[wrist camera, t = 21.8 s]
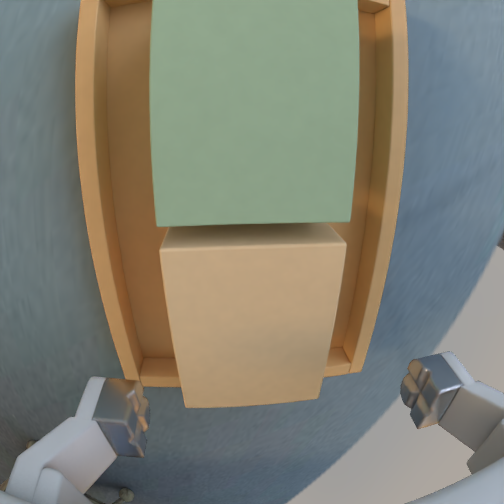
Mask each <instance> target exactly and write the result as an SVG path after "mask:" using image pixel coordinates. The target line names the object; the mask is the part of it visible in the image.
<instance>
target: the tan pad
mask: <svg viewBox="0 0 504 504" xmlns="http://www.w3.org/2000/svg"><path fill="white" fill-rule="evenodd" d="M346 247H347V244H346V242H345V241H344V240H343V239H342V238H341V237H340V236H339V235H338V234H337V233H336V232H335V231H334V229H333V228H332V227H331V226H330V225H329V224H328V223H274V224H234V225H203V226H177V227H168V230H167V232H166V235H165V237H164V240H163V242H162V245H161V247H160V250H159V254H160V263H161V270H162V278H163V286H164V293H165V300H166V306H167V313H168V319H169V325H170V331H171V337H172V343H173V348H174V354H175V359H176V364H177V369H178V374H179V379H180V384H181V389H182V393H183V398H184V403H185V406H186V408H216V407H239V406H254V405H266V404H277V403H287V402H296V401H304V400H312V399H317V398H319V394H320V390H321V385H322V381H323V377H324V372H325V368H326V363H327V358H328V353H329V349H330V344H331V339H332V333H333V328H334V323H335V317H336V312H337V306H338V300H339V294H340V288H341V282H342V275H343V269H344V262H345V255H346Z"/></svg>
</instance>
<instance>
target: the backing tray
mask: <svg viewBox="0 0 504 504" xmlns="http://www.w3.org/2000/svg"><path fill="white" fill-rule="evenodd" d="M152 1H153V0H81V4H80V12H79V22H78V33H77V48H76V74H75V106H76V132H77V148H78V160H79V171H80V180H81V189H82V197H83V204H84V211H85V218H86V224H87V230H88V236H89V242H90V247H91V252H92V257H93V262H94V267H95V272H96V276H97V281H98V285H99V289H100V293H101V297H102V301H103V305H104V309H105V313H106V317H107V320H108V324H109V327H110V331H111V334H112V338H113V341H114V344H115V348H116V351H117V354H118V357H119V360H120V363H121V366H122V369H123V372H124V375H125V378H126V380H137V381H141V382H142V385H143V386H145V387H181V384H180V379H179V374H178V369H177V364H176V359H175V354H174V348H173V343H172V337H171V331H170V325H169V319H168V313H167V306H166V300H165V293H164V286H163V278H162V270H161V263H160V254H159V250H160V247H161V245H162V242H163V240H164V237H165V235H166V232H167V230H168V227H157V226H156V217H155V206H154V194H153V180H152V164H151V143H150V108H149V68H150V35H151V16H152ZM358 20H359V113H358V135H357V151H356V165H355V178H354V189H353V199H352V209H351V218H350V222H348V223H328V224H329V225H330V226H331V227H332V228H333V229H334V231H335V232H336V233H337V234H338V235H339V236H340V237H341V238H342V239H343V240H344V241H345V242H346V244H347V247H346V255H345V262H344V269H343V275H342V282H341V288H340V294H339V300H338V306H337V312H336V317H335V323H334V328H333V333H332V339H331V344H330V349H329V353H328V358H327V363H326V368H325V372H324V377H330V376H337V375H344V374H348V373H356V372H361V371H362V367H363V364H364V361H365V358H366V354H367V351H368V347H369V344H370V340H371V337H372V333H373V330H374V326H375V322H376V318H377V314H378V310H379V306H380V302H381V298H382V294H383V289H384V285H385V280H386V276H387V271H388V266H389V261H390V256H391V250H392V245H393V239H394V234H395V228H396V222H397V215H398V208H399V201H400V194H401V186H402V177H403V168H404V158H405V146H406V132H407V114H408V36H407V19H406V6H405V0H358Z"/></svg>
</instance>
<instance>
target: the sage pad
mask: <svg viewBox="0 0 504 504" xmlns="http://www.w3.org/2000/svg"><path fill="white" fill-rule="evenodd" d="M149 108H150V143H151V164H152V180H153V194H154V206H155V217H156V226H157V227H177V226H203V225H234V224H274V223H348V222H350V218H351V209H352V199H353V189H354V178H355V165H356V151H357V135H358V113H359V20H358V0H153V1H152V16H151V35H150V68H149Z"/></svg>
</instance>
